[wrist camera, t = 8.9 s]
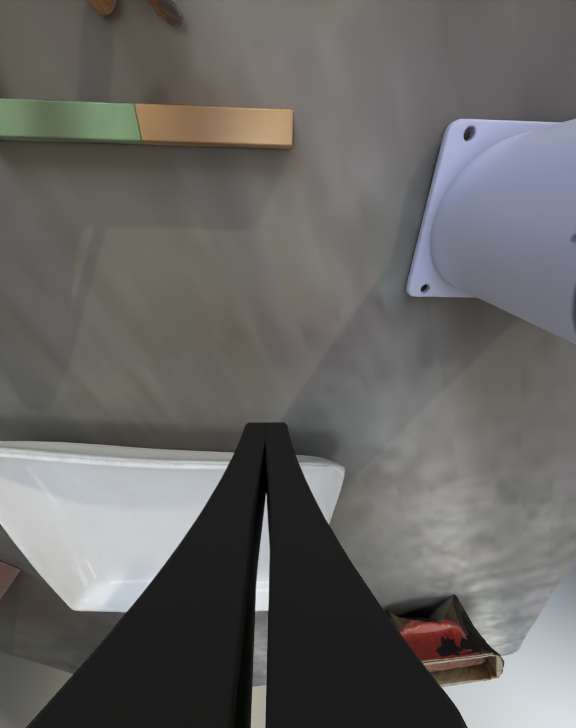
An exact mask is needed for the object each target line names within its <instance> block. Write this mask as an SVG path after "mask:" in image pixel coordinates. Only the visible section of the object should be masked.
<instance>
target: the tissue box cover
mask: <svg viewBox="0 0 576 728" xmlns="http://www.w3.org/2000/svg"><path fill="white" fill-rule="evenodd" d="M20 571H21V570H20V569H18V568H15V567H13V566H11V565H8V564H6V563H4V562H1V561H0V599H1V598H2V596H3V595H4V594H5V592H6V591H7V589H8V588H9V586H10V585H11V583H12V582H13V581H14V579H15V578H16V576H17V575H18V573H19V572H20Z"/></svg>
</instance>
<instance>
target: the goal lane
mask: <svg viewBox="0 0 576 728" xmlns="http://www.w3.org/2000/svg"><path fill="white" fill-rule="evenodd" d="M0 140H19V141H49V142H80V143H110V144H141V145H149V144H151V145H170V146H201V147H231V148H262V149H291V148H292V141H293V110H289V109H263V108H237V107H212V106H186V105H160V104H135V105H134V104H133V103H108V102H82V101H57V100H31V99H6V98H0Z"/></svg>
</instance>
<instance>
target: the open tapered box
mask: <svg viewBox="0 0 576 728" xmlns="http://www.w3.org/2000/svg"><path fill="white" fill-rule="evenodd" d="M385 613H386V614H387V615H388V617H389V618H390V620H391V621H392V622H393V624H394V625H395V627H396V628H397V629H398V631H399V632H400V633H401V635H402V636H403V638H404V639H405V640H406V642H407V643H408V644H409V646H410V647H411V648H412V650H413V651H414V652H415V654H416V655H417V656H418V658H419V659H420V660H421V662H422V663H423V664H424V666H425V667H426V668H427V670H428V671H429V672H430V673H431V675H432V676H433V677H434V679H435V680H436V681H437V682H438V684H439V685H440V686H441V687H445V686H452V685H458V684H465V683H472V682H477V681H486V680H491V679H494V678H499V676H500V675H501V673H502V672H503V667H504V660H503V659H502V657H501V656H500V654H498V653H497V652H496V651H495V650H494V649H492V648H491V647H490V646H489V645H488V644H487V643H486V641H485V639H483V638H482V636H481V635H480V634H479V632H478V631H477V630H476V628H475V627H474V626H473V624H472V622H471V621H470V619H469V617H468V615H467V613H466V612H465V610H464V608H463V606H462V605H461V603H460V601H459V599H458V598H457V596H456V595H454V597H453V600H452V603H451V605H450V608H449V610H448V612H447V613H446V615H445V617H444V619H443V621H442V623H440V622H438V621H435V620H431V619H426V618H422V617H397V616H395V615H394V614H392V613H390V612H389V611H387V610H386V611H385Z"/></svg>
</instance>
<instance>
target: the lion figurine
mask: <svg viewBox="0 0 576 728" xmlns="http://www.w3.org/2000/svg"><path fill="white" fill-rule="evenodd" d="M87 1H88V2H89V3H90V4H91V6H92V7H93V8H94V9H95V10H96V11H97V12H98V13H99V14H100V15H109V14H110V13H111V12H112V11H113V9H114V8H115V5H116V0H87ZM147 1H148V2H149V3H150V4H151V5H152V7H153V8H154V10H155V11H156V13H157V14H158V16H159V17H160V18H161V19H164V20H166V21H167V22H169V23H170V25H172V26H174V27H176V28H178V27H181V26H182V24H183V22H184V18H183V15H182V13H181V11H180V10H179V8H178V7H177V6H176V4H175V3H174V2H173V1H172V0H147Z"/></svg>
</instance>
